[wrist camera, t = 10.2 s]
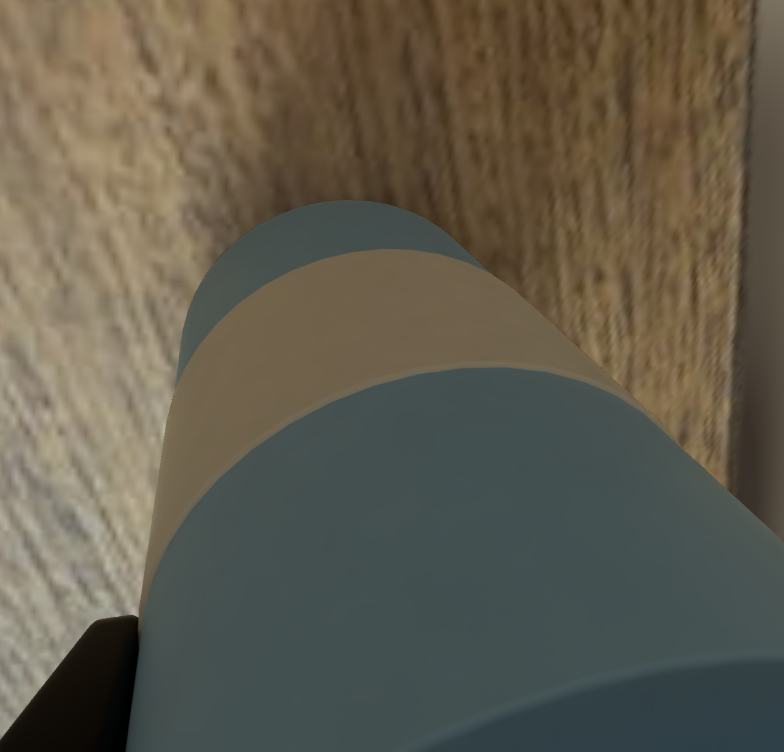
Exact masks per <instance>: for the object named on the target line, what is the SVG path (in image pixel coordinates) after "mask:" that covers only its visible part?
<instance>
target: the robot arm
mask: <svg viewBox="0 0 784 752" xmlns="http://www.w3.org/2000/svg"><path fill="white" fill-rule="evenodd" d="M138 619H139V618H138V617H136V616H134V615H127V616H120V617H112V618H105V619H100V620H97V621H95V622H94V623H93V624H91V625H90V627H89V628H88V629H87V630H86V632H85V633H84V634H83V635H82V637H81V638H80V639H79V640H78V642H77V643H76V644H75V646H74V647H73V648H72V649H71V651H70V652H69V653H68V654H67V656H66V657H65V658H64V659H63V661H62V662H61V663H60V665H59V666H58V667H57V668H56V670H55V671H54V672H53V673H52V675H51V676H50V677H49V679H48V680H47V681H46V682H45V684H44V685H43V686H42V687H41V689H40V690H39V691H38V693H37V694H36V695H35V696H34V698H33V699H32V700H31V701H30V703H29V704H28V705H27V706H26V708H25V709H24V710H23V712H22V713H21V714H20V715H19V717H18V718H17V719H16V720H15V722H14V723H13V724H12V726H11V727H10V728H9V729H8V731H7V732H6V733H5V734H4V736H3V737H2V738H1V740H0V752H126V744H127V737H128V730H129V722H130V715H131V707H132V700H133V693H134V685H135V678H136V671H137V663H138V656H139V644H138V635H137V630H138Z"/></svg>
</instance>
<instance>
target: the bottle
mask: <svg viewBox="0 0 784 752" xmlns="http://www.w3.org/2000/svg"><path fill="white" fill-rule="evenodd" d="M137 635H138V644H139V656H138V663H137V671H136V678H135V685H134V693H133V700H132V707H131V715H130V722H129V730H128V737H127V744H126V752H784V541H782V540H781V539H780V538H779V537H778V536H777V535H776V534H775V533H774V532H773V531H772V530H770V529H769V528H768V527H767V526H766V525H765V524H764V523H763V522H762V521H761V520H760V519H758V518H757V517H756V516H755V515H754V514H753V513H752V512H751V511H750V510H749V509H748V508H746V507H745V506H744V505H743V504H742V503H741V502H740V501H739V500H738V499H737V498H736V497H734V496H733V495H732V494H731V493H730V492H729V491H728V490H727V489H726V488H725V487H724V486H723V485H721V484H720V483H719V482H718V481H717V480H716V479H715V478H714V477H713V476H712V475H711V474H709V473H708V472H707V471H706V470H705V469H704V468H703V467H702V466H701V465H700V464H699V463H697V462H696V461H695V460H694V459H693V458H692V457H691V456H690V455H689V454H688V453H687V452H685V451H684V449H683V448H682V447H681V446H680V444H679V443H678V442H677V440H676V439H675V438H674V436H673V435H672V434H671V432H670V431H669V430H668V428H667V427H666V426H665V425H664V424H663V423H662V422H660V421H659V420H658V419H657V418H656V417H655V416H654V415H653V414H652V413H651V412H649V411H648V410H647V409H646V408H645V407H644V406H643V405H642V404H641V403H640V402H638V401H637V400H636V399H635V398H634V397H633V396H632V395H631V394H630V393H628V392H627V391H626V390H625V389H624V388H623V387H622V386H621V385H620V384H618V383H617V382H616V381H615V380H614V379H613V378H612V377H611V376H610V375H608V374H607V373H606V372H605V371H604V370H603V369H602V368H601V367H600V366H599V365H597V364H596V363H595V362H594V361H593V360H592V359H591V358H590V357H589V356H587V355H586V354H585V353H584V352H583V351H582V350H581V349H580V348H579V347H577V346H576V345H575V344H574V343H573V342H572V341H571V340H570V339H569V338H567V337H566V336H565V335H564V334H563V333H562V332H561V331H560V330H559V329H557V328H556V327H555V326H554V325H553V324H552V323H551V322H550V321H549V320H547V319H546V318H545V317H544V316H543V315H542V314H541V313H540V312H539V311H537V310H536V309H535V308H534V307H533V306H532V305H531V304H530V303H529V302H527V301H526V300H525V299H524V298H523V297H522V296H521V295H520V294H519V293H517V292H516V291H515V290H514V289H513V288H512V287H510V286H509V285H507V284H506V283H504V282H503V281H501V280H500V279H498V278H497V277H495V276H494V275H493V274H491V273H490V272H489V271H488V270H487V269H486V268H485V267H484V266H483V265H482V264H481V263H479V262H478V261H477V260H476V259H475V258H474V257H473V256H472V255H471V254H470V253H469V252H467V251H466V250H465V249H464V248H463V247H462V246H461V245H460V244H459V243H458V242H457V241H455V240H454V239H453V238H452V237H451V236H450V235H449V234H448V233H447V232H445V231H444V230H442V229H441V228H439V227H438V226H436V225H435V224H433V223H432V222H431V221H429V220H427V219H425V218H423V217H421V216H419V215H417V214H415V213H413V212H411V211H408V210H405V209H402V208H398V207H395V206H392V205H389V204H384V203H378V202H372V201H364V200H336V201H325V202H319V203H314V204H310V205H306V206H301V207H298V208H295V209H292V210H290V211H287V212H284V213H282V214H279V215H276V216H275V217H273V218H271V219H269V220H267V221H265V222H263V223H261V224H260V225H258V226H256V227H255V228H253V229H252V230H250V231H249V232H248V233H246V234H245V235H243V236H242V237H241V238H239V239H238V240H237V241H236V242H235V243H234V244H233V245H231V246H230V247H229V248H228V249H227V250H226V251H225V252H224V253H223V254H222V255H221V256H220V257H219V259H218V260H217V261H216V262H215V264H214V265H213V266H212V267H211V269H210V270H209V271H208V272H207V274H206V275H205V277H204V279H203V280H202V282H201V284H200V286H199V287H198V289H197V291H196V293H195V295H194V297H193V300H192V302H191V305H190V307H189V309H188V312H187V316H186V320H185V324H184V328H183V332H182V340H181V347H180V354H179V362H178V369H177V377H176V384H175V391H174V394H173V398H172V402H171V406H170V409H169V413H168V417H167V421H166V428H165V435H164V442H163V449H162V456H161V463H160V469H159V476H158V483H157V490H156V497H155V504H154V511H153V517H152V524H151V531H150V538H149V545H148V552H147V558H146V565H145V572H144V579H143V586H142V593H141V600H140V608H139V619H138V630H137Z"/></svg>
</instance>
